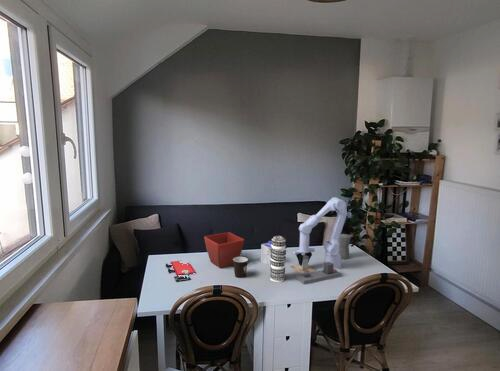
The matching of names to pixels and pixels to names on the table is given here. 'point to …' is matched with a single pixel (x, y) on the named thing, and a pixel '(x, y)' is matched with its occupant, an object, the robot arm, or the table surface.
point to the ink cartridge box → (266, 253)
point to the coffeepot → (345, 245)
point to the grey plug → (304, 262)
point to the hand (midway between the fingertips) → (303, 264)
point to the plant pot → (223, 248)
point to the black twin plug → (328, 268)
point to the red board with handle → (181, 270)
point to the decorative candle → (277, 259)
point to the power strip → (316, 276)
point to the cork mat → (303, 270)
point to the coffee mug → (240, 266)
